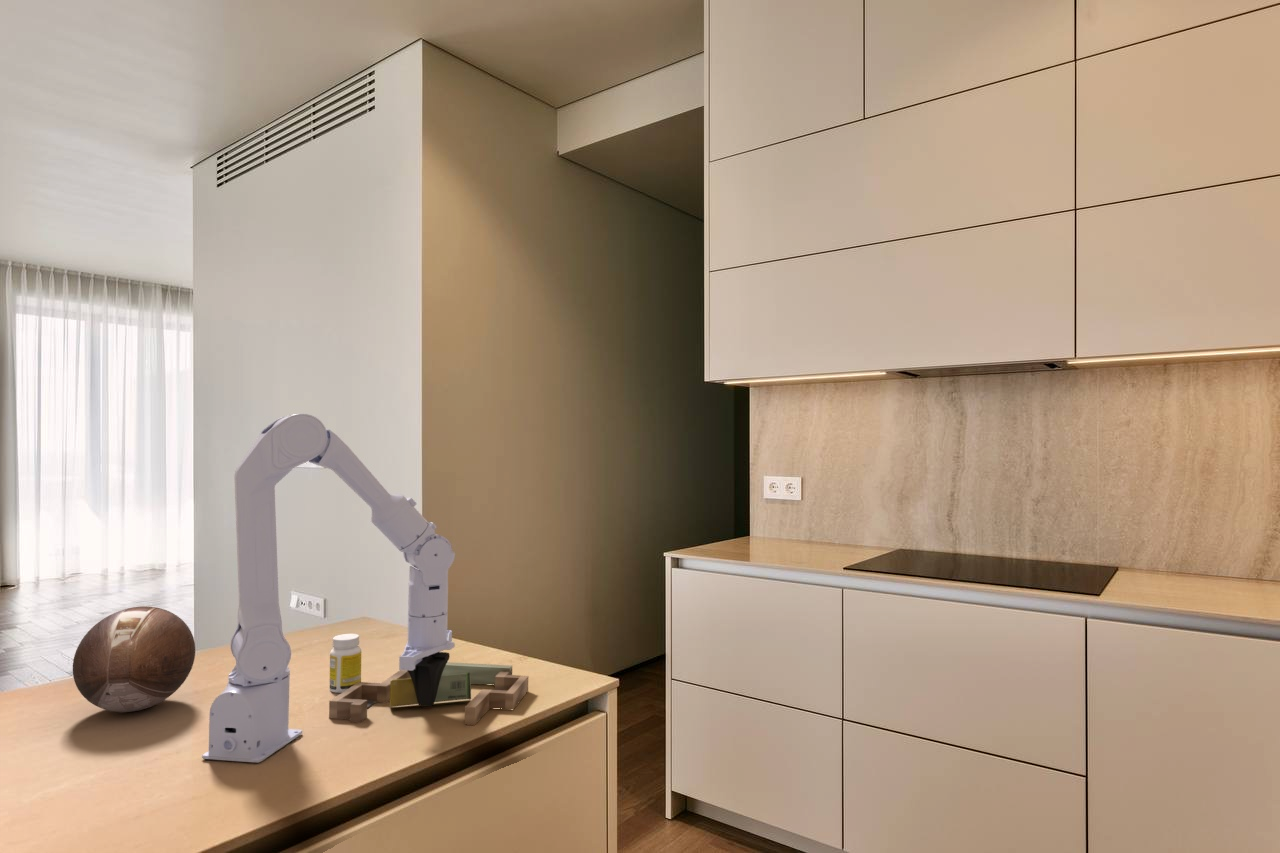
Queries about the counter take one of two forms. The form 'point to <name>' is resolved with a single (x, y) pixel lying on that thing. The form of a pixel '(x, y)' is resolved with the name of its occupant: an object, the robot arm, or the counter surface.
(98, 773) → the counter surface
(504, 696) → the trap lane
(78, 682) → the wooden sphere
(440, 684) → the medication box
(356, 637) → the supplement bottle
